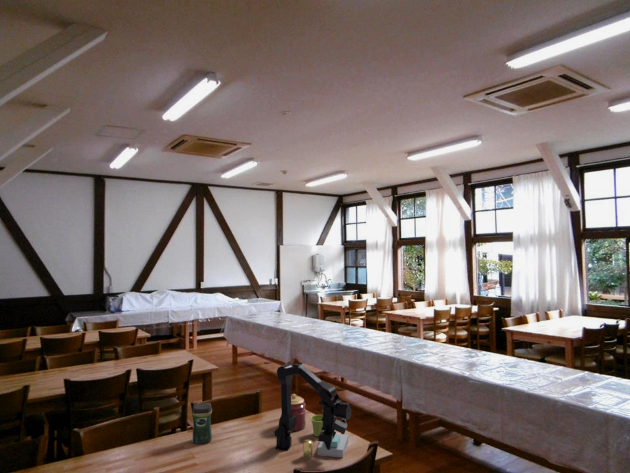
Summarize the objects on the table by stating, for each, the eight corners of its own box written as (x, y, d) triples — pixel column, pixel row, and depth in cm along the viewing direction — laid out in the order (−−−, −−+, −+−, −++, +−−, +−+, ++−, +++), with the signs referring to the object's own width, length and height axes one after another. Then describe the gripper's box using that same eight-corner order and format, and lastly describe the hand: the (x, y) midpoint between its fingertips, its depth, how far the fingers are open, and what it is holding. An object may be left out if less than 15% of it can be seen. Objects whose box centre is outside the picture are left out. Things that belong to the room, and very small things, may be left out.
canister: (279, 423, 240) (279, 391, 240) (301, 421, 243) (302, 389, 244) (284, 433, 227) (285, 399, 228) (308, 430, 231) (308, 396, 232)
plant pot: (313, 439, 219) (313, 422, 219) (308, 432, 228) (308, 415, 228) (330, 437, 222) (330, 420, 222) (325, 430, 231) (325, 413, 231)
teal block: (324, 445, 204) (324, 440, 204) (327, 439, 210) (327, 434, 210) (337, 447, 202) (337, 442, 202) (340, 440, 209) (340, 435, 209)
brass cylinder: (302, 458, 199) (302, 443, 199) (304, 454, 203) (304, 439, 203) (311, 459, 198) (311, 444, 198) (313, 455, 202) (313, 440, 202)
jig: (317, 454, 203) (317, 447, 203) (325, 439, 219) (325, 432, 219) (342, 457, 200) (342, 450, 200) (348, 442, 216) (348, 434, 216)
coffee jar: (212, 437, 222) (212, 400, 223) (211, 444, 214) (211, 406, 215) (193, 438, 220) (193, 401, 221) (190, 445, 213) (191, 407, 213)
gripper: (342, 424, 188) (342, 461, 187) (349, 409, 206) (349, 442, 205) (317, 422, 190) (317, 458, 190) (326, 407, 209) (326, 440, 208)
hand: (328, 449), depth 198 cm, fingers closed
